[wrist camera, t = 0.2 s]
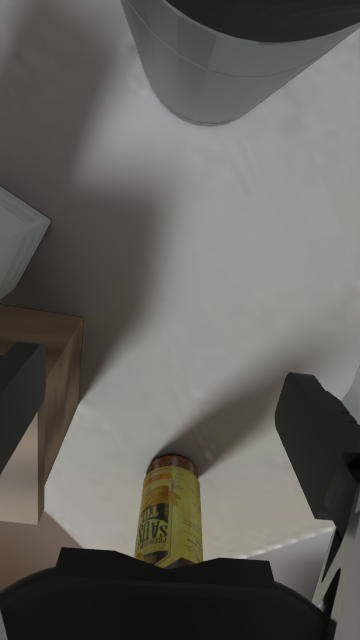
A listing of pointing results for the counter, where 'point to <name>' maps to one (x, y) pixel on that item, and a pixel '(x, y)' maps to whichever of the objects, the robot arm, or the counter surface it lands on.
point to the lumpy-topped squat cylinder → (354, 398)
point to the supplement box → (17, 238)
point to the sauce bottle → (170, 514)
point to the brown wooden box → (52, 417)
